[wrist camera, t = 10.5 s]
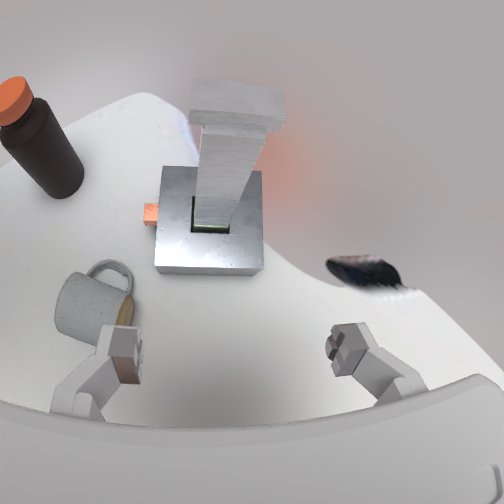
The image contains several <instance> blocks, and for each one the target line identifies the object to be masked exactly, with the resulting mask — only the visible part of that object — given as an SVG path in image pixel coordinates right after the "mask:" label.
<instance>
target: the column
mask: <svg viewBox="0 0 504 504" xmlns="http://www.w3.org/2000/svg"><path fill="white" fill-rule="evenodd" d="M285 120H286V109H285V97H284V88H283V87H277V86H270V85H263V84H255V83H247V82H237V81H227V80H215V79H199V78H194V79H193V84H192V92H191V99H190V106H189V123H188V124H190V125H202V130H201V140H200V151H199V161H198V173H197V186H196V194H195V211H194V233H220V234H225V232H226V231H227V229H228V225H229V223H230V221H231V218H232V216H233V214H234V211H235V209H236V207H237V204H238V202H239V200H240V197H241V195H242V193H243V190H244V188H245V186H246V183H247V181H248V179H249V177H250V174H251V172H252V170H253V168H254V165H255V163H256V161H257V159H258V156H259V154H260V152H261V150H262V147H263V145H264V143H265V141H266V131H274V132H280V130H281V128H282V126H283V124H284V122H285Z"/></svg>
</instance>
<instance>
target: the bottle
mask: <svg viewBox="0 0 504 504" xmlns="http://www.w3.org/2000/svg"><path fill="white" fill-rule="evenodd" d="M0 127H1V129H0V140H1V143H2V145H3V146H4V147H5V149H6V150H7V151H8V152H9V153H10V154H11V155H12V156H13V158H14V159H15V160H16V161H17V162H18V163H19V164H20V165H21V166H22V167H23V169H24V170H25V171H26V172H27V173H28V174H29V175H30V176H31V177H32V178H33V179H34V180H35V181H36V182H37V183H38V184H39V185H40V186H41V187H42V188H43V189H44V190H45V191H46V192H47V193H48V194H49V195H50V196H51V197H53V198H58V199H60V198H66V197H68V196H70V195H72V194H73V193H74V192H75V191H76V190H77V189H78V187H79V186H80V185H81V183H82V180H83V176H84V169H83V165H82V163H81V161H80V160H79V158H78V156H77V155H76V153H75V151H74V150H73V148H72V146H71V144H70V143H69V141H68V139H67V137H66V136H65V134H64V132H63V130H62V129H61V127H60V125H59V123H58V121H57V119H56V118H55V116H54V114H53V112H52V110H51V108H50V106H49V105H48V103H47V102H46V101H45V100H43V99H41V98H34V96H33V93H32V91H31V89H30V87H29V85H28V83H27V82H26V80H25V78H23V77H20V76H18V77H13V78H10V79H8V80H7V81H5V82H3V83H2V84H1V85H0Z"/></svg>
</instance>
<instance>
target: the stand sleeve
mask: <svg viewBox="0 0 504 504" xmlns="http://www.w3.org/2000/svg"><path fill="white" fill-rule="evenodd" d="M197 173H198V167H185V166H163V169H162V178H161V187H160V197H159V204H145V208H144V218H143V221H144V223H145V225H146V226H157V233H156V249H155V267H156V268H157V270H158V271H159V273H160V274H191V275H233V276H253V275H255V274H256V273H258V272H259V271H261V270H262V269H264V262H263V217H262V216H263V215H262V179H261V177H262V176H261V171H252V172H251V174H250V177H249V179H248V181H247V183H246V186H245V188H244V190H243V193H242V195H241V197H240V200H239V202H238V204H237V207H236V209H235V211H234V214H233V216H232V218H231V221H230V223H229V225H228V229H227V231H226V232H225V234H214V233H191V215H192V213H194V211H195V194H196V186H197Z"/></svg>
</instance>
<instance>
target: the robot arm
mask: <svg viewBox="0 0 504 504" xmlns="http://www.w3.org/2000/svg"><path fill="white" fill-rule="evenodd" d="M331 333H332V335H331V336H329V337H328V338H327V341H326V345H325V350H326V354H327V357H328V358H329V359H330V360H331V361H332V364H331V367H332V370H333V372H334V374H335V377H339V376H347V375H352V376H353V377H354V378H355V379H356V380H357V381H358V382H359V383H360V384H361V385H362V386H363V387H364V388H366V389H367V390H368V391H369V392H370V393H371V394H372V395H373V396H374V397H375V398H376V399H378V401H377V402H376V403H375V404H374V405H373V407H370V408H366V409H361V410H357V411H352V412H347V413H342V414H337V415H332V416H326V417H320V418H314V419H308V420H301V421H293V422H285V423H276V424H267V425H255V426H241V427H220V428H169V427H149V426H135V425H124V424H114V423H106V421H105V419H104V417H103V416H102V414H101V412H100V410H101V409H102V408H103V406H104V405H105V404H106V403H107V401H108V400H109V399H110V397H111V396H112V395H113V394H114V392H115V391H116V390H117V389H118V387H119V386H120V385H121V384H140V383H141V373H142V371H141V366H140V365H141V364H142V363H143V343H142V340H141V339H140V335H141V332H140V328H139V327H131V326H120V325H107V324H104V325H103V326H102V329H101V332H100V336H99V340H98V344H97V348H96V352H95V355H91V356H90V357H88V358H87V359H86V360H85V361H84V362H83V363H82V364H81V365H80V366H79V367H77V368H76V369H75V370H74V371H73V372H72V373H71V374H70V375H69V376H68V377H66V378H65V379H64V380H63V381H62V382H61V383H60V384H59V385H58V386H57V387H56V388H55V392H54V396H53V400H52V404H51V408H50V413H47V412H43V411H38V410H34V409H30V408H26V407H22V406H19V405H15V404H11V403H8V402H5V401H1V400H0V504H504V393H503V391H502V389H501V388H500V387H499V386H498V385H497V384H496V383H494V382H493V381H491V380H490V379H488V378H487V377H485V376H483V375H481V374H473V375H471V376H468V377H466V378H463V379H461V380H458V381H456V382H453V383H450V384H447V385H445V386H442V387H439V388H436V389H433V390H430V391H429V390H428V388H427V387H426V385H425V383H424V381H423V379H422V378H421V376H420V374H419V372H418V371H416V370H415V369H413V368H412V367H410V366H409V365H407V364H406V363H404V362H403V361H401V360H400V359H398V358H397V357H395V356H394V355H392V354H391V353H389V352H388V351H386V350H385V349H384V348H379V346H378V344H377V342H376V341H375V339H374V337H373V335H372V333H371V332H370V330H369V328H368V326H367V325H366V324H365V323H364V322H363V323H351V324H340V325H334V326H333V327H332V329H331ZM120 383H121V384H120Z"/></svg>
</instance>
